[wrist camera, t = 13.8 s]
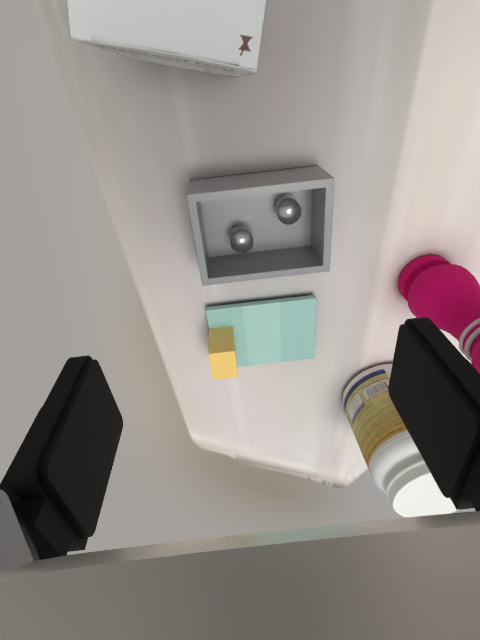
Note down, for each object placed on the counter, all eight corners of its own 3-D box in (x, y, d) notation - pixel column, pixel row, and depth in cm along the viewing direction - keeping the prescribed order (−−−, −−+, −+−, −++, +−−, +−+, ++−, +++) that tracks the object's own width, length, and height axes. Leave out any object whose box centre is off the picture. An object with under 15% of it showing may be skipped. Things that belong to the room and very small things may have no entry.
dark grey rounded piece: (251, 222, 38) (253, 230, 36) (251, 243, 40) (253, 252, 38) (228, 223, 38) (229, 231, 36) (229, 244, 40) (230, 253, 37)
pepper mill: (400, 251, 42) (523, 361, 25) (460, 248, 42) (619, 355, 26) (388, 304, 46) (486, 428, 29) (442, 301, 46) (570, 423, 30)
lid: (312, 290, 45) (327, 321, 39) (311, 349, 50) (323, 383, 44) (206, 302, 45) (205, 334, 39) (215, 360, 50) (216, 395, 44)
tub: (317, 165, 36) (334, 178, 31) (315, 248, 41) (329, 271, 36) (190, 179, 36) (186, 195, 31) (203, 261, 41) (202, 285, 36)
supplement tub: (335, 419, 58) (375, 528, 44) (345, 362, 51) (396, 468, 37) (409, 414, 58) (472, 520, 44) (429, 357, 52) (510, 460, 38)
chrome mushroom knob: (296, 192, 37) (301, 199, 35) (296, 215, 38) (301, 223, 36) (273, 195, 37) (277, 202, 35) (274, 218, 38) (277, 225, 36)
